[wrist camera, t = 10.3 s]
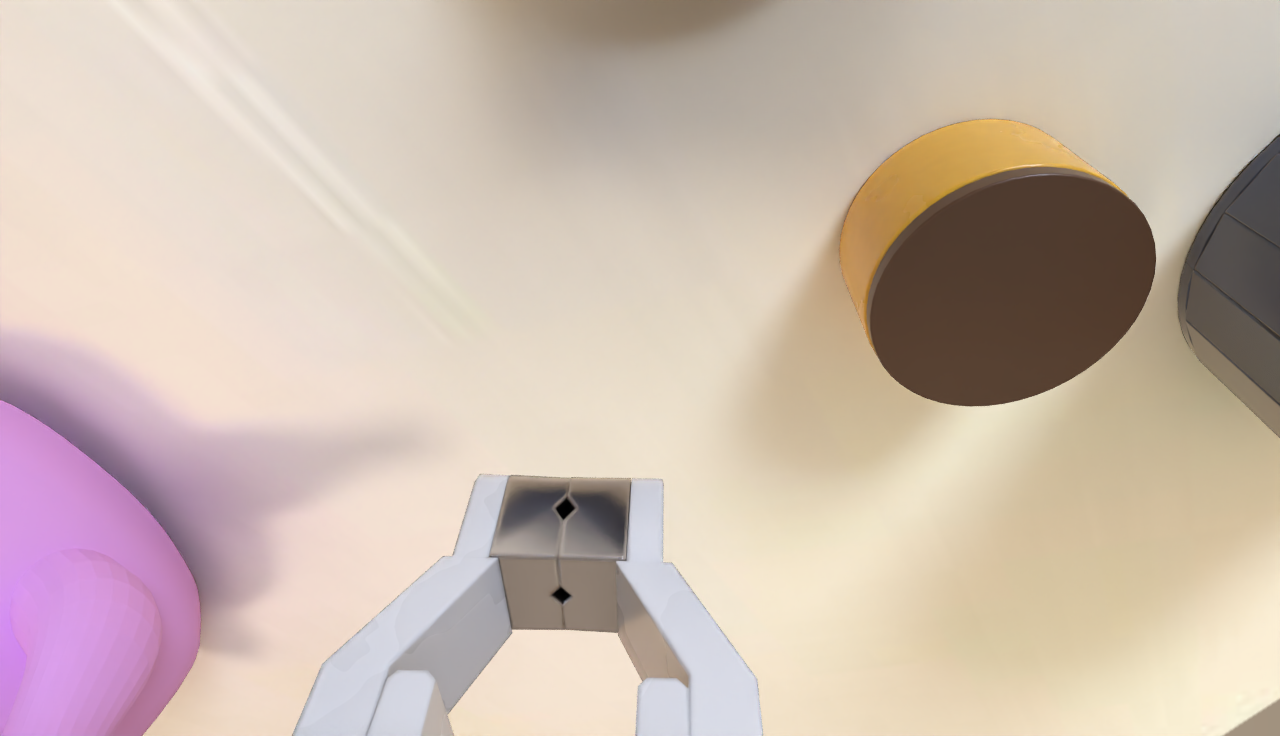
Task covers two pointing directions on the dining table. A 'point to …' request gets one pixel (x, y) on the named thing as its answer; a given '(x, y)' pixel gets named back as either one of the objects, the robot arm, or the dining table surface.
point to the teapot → (84, 594)
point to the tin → (993, 263)
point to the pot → (1239, 289)
